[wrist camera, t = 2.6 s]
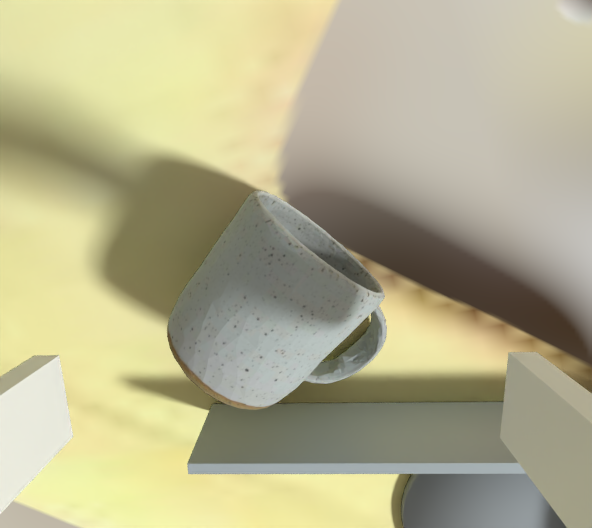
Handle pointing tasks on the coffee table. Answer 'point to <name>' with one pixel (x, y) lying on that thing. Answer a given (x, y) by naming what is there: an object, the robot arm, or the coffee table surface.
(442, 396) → the coffee table surface
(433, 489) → the slate coaster
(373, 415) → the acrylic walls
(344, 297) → the ceramic mug
